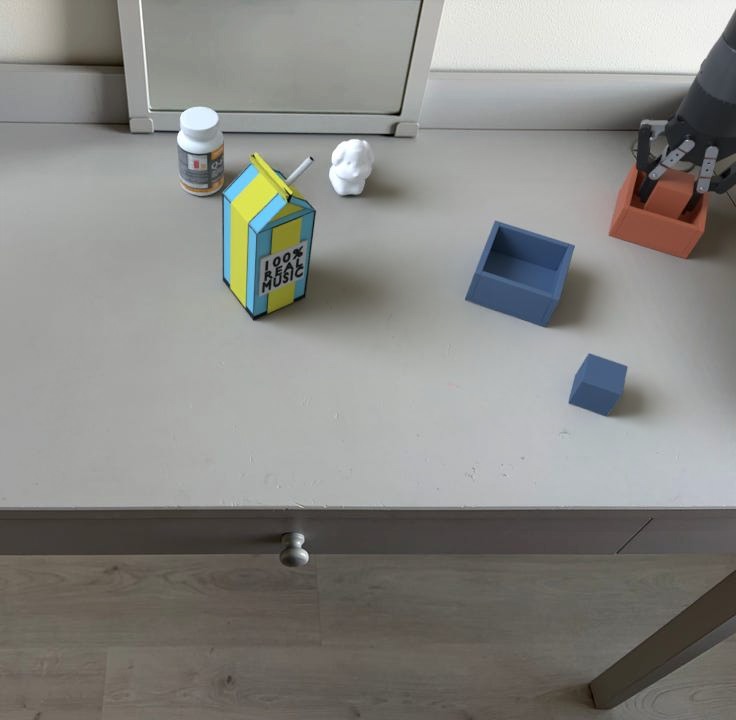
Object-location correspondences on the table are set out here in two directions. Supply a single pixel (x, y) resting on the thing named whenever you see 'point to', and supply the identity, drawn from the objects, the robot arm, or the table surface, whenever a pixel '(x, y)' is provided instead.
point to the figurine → (351, 166)
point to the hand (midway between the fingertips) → (662, 204)
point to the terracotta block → (671, 194)
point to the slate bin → (520, 273)
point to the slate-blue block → (598, 384)
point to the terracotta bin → (656, 221)
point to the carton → (266, 238)
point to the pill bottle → (200, 151)
